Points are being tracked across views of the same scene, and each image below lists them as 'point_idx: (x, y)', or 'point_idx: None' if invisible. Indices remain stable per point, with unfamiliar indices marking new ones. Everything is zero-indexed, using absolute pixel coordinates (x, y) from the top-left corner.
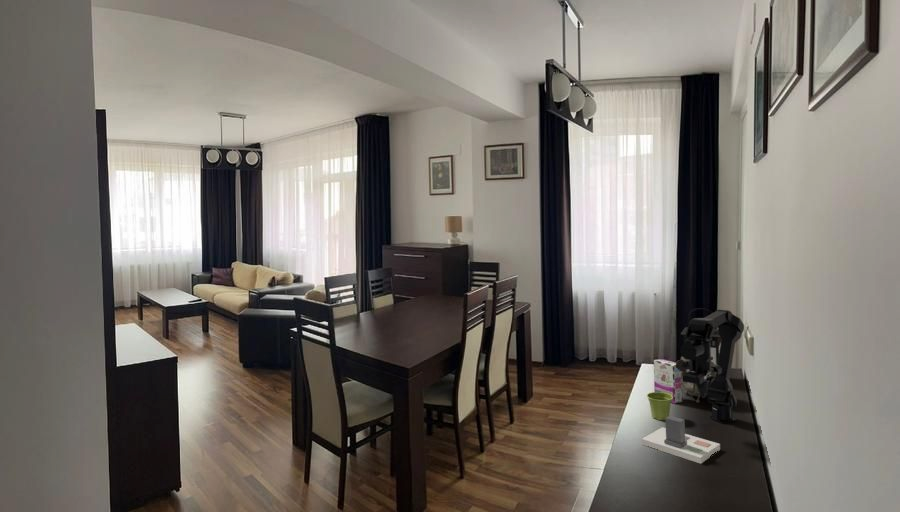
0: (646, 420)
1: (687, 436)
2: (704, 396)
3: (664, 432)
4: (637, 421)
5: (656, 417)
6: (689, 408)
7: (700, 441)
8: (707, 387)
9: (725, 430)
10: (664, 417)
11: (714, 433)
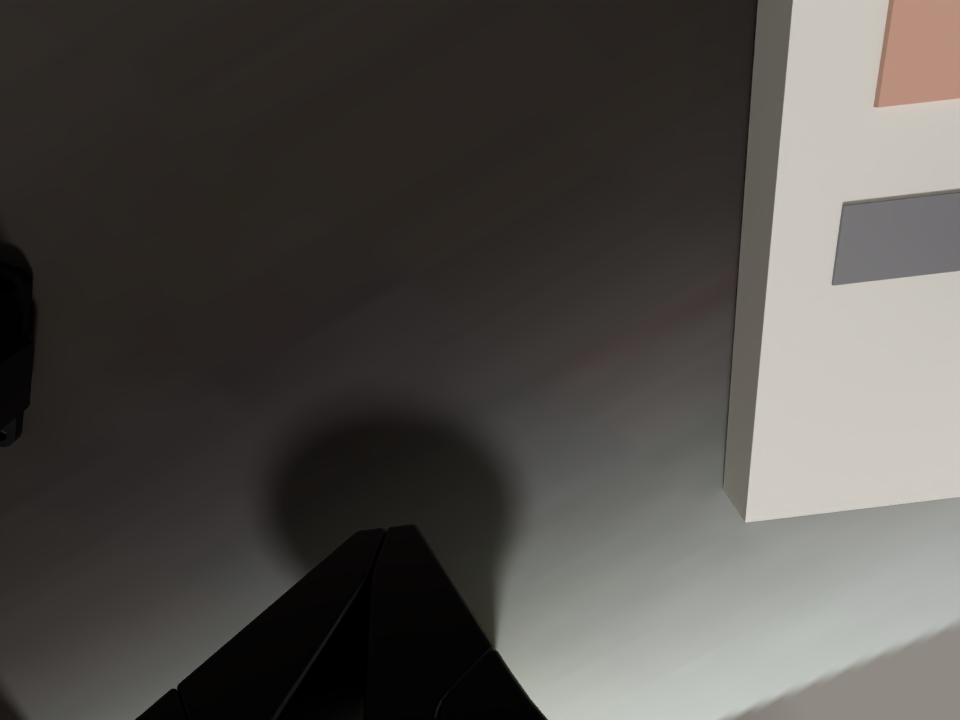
0: (570, 682)
1: (824, 248)
2: (383, 529)
3: (861, 444)
4: (639, 702)
5: None
6: (11, 653)
7: (900, 58)
8: (385, 714)
9: (171, 140)
10: None
11: (360, 177)
